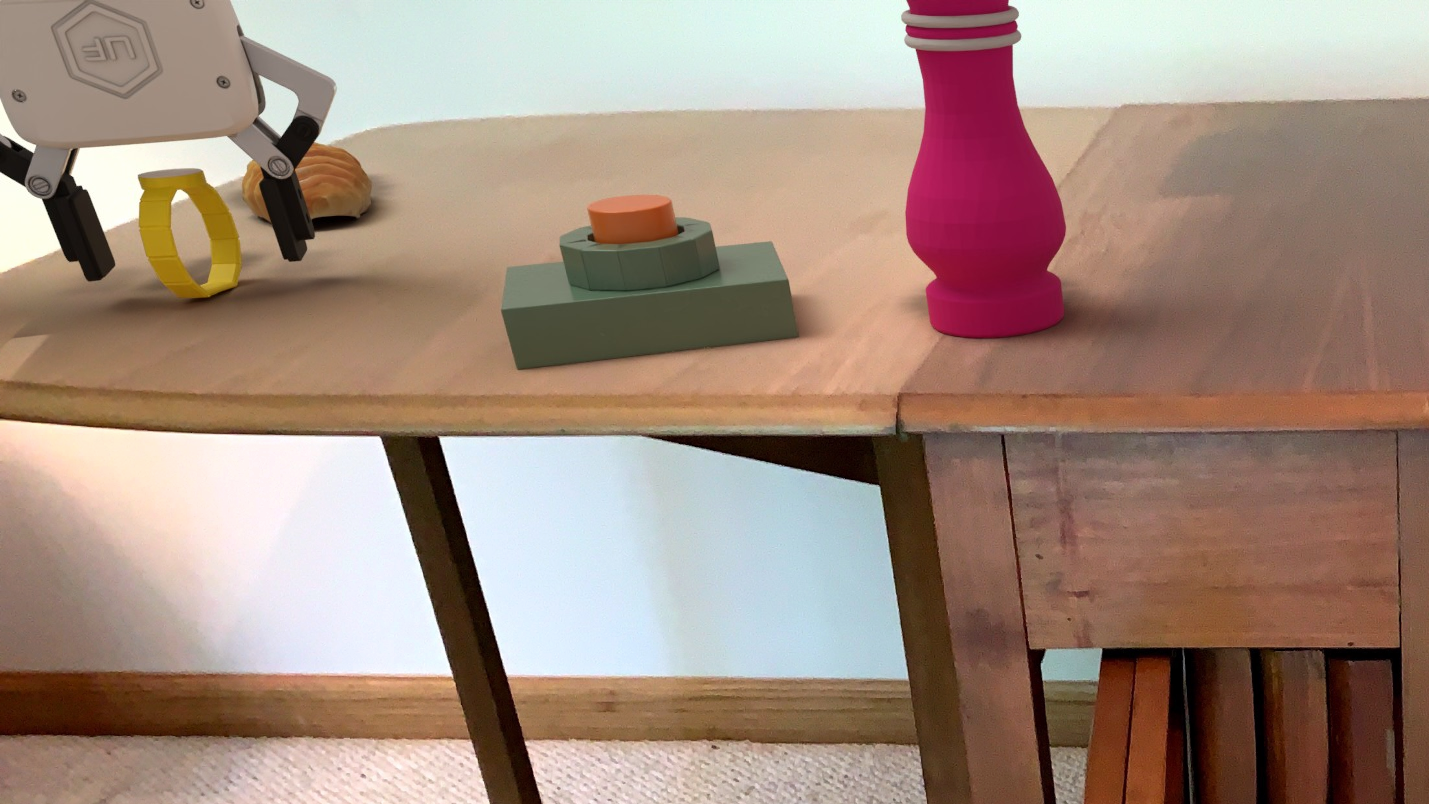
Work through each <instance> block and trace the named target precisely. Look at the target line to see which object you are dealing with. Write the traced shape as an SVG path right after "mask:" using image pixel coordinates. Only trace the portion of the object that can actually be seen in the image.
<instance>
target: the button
mask: <svg viewBox="0 0 1429 804" xmlns="http://www.w3.org/2000/svg"><path fill="white" fill-rule="evenodd" d="M586 210H587V215H588V219H589V223H590V225H591V227H592V232H593V236H594V240H595V242H596V243H600V244H630V243H641V242H651V241H656V240H661V239H665V238H670V237H674V236H676V235H679V232H678V228H677V223H676V218H675V217H676V214H675V209H674V206H673V200H672V199H671V198H670V197H668V196H664V195H658V194H631V195H630V194H629V195H619V196H613V197H607V198H604V199H599V200H597V201H594V202H591V203H589V204H588V205H587V207H586Z"/></svg>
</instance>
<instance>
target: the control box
mask: <svg viewBox="0 0 1429 804" xmlns="http://www.w3.org/2000/svg"><path fill="white" fill-rule="evenodd" d="M675 218H676V223H677V228H678V232H679V235H676V236H674V237H670V238H665V239H661V240H656V241H651V242H641V243H630V244H600V243H596V242H595V240H594V236H593V232H592V227H591V224H590V225H585V226H582V227H578V228H576V229H573V230H571V231H568V232H567V233H564V234H561V235H560V236H559V249H560V254H561V258H562V261H555V262H546V263H545V262H544V263H536V264H535V263H534V264H525V265H514V266H507V267H506V272H505V279H504V285H503V286H504V287H503V291H502V292H503V293H502V299H501V307H500V313H501V316H502V319H503V323H504V327H505V331H506V334H507V338H508V342H509V345H510V349H511V353H512V356H513V360H514V364H515V368H516V369H517V370H518V371H519V370H529V369H536V368H544V367H545V368H546V367H554V366H562V365H572V364H579V362H580V363H588V362H595V361H596V362H597V361H605V360H615V359H622V358H631V357H640V356H639V355H641V356H648V355H649V356H650V355H655V354H654V353H658V354H665V352H667V353H673V352H672V351H675V352H683V350H684V351H687V350H686V349H693V350H699V349H700V348H701V349H708V348H707V347H710V348H718V347H726V346H734V345H744V344H752V343H761V342H769V341H777V340H787V339H795V338H799V337H800V334H799V329H798V324H797V323H798V322H797V318H796V312H795V307H794V302H793V301H794V300H793V296H792V291H791V285H790V280H789V278H788V275H787V273H786V271H785V268H784V266H783V264H782V261H781V259H780V257H779V254H778V252H777V250H776V247H775V246H774V245H775V244H774V243H773V241H771V240H769V241H760V242H750V243H749V242H748V243H739V244H728V245H719V246H716V241H715V237H714V233H713V229H712V226H711V225H712V224H711V223H710V222H709V221H705V220H701V219H696V218H692V217H684V216H683V217H682V216H681V217H679V216H675ZM704 347H705V348H704Z"/></svg>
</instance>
